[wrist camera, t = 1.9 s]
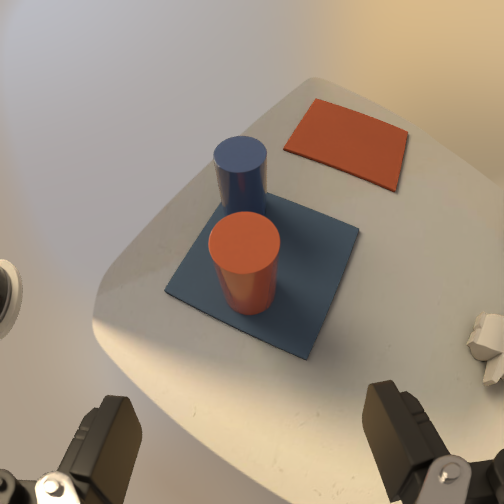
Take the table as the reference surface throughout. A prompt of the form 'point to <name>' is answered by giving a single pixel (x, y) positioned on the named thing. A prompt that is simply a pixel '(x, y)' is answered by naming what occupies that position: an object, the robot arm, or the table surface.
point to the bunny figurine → (489, 345)
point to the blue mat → (288, 276)
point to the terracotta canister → (246, 260)
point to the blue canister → (242, 175)
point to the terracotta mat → (350, 143)
